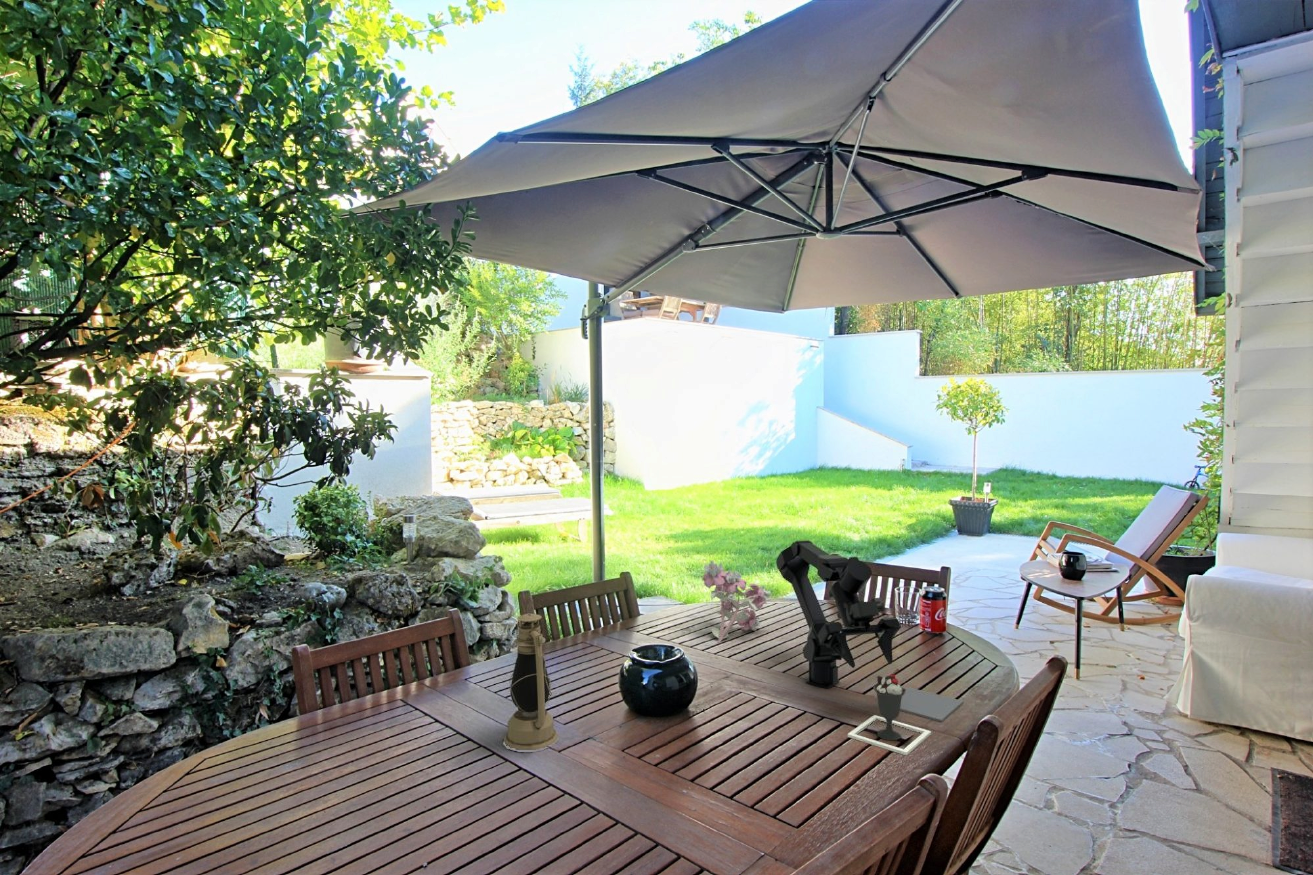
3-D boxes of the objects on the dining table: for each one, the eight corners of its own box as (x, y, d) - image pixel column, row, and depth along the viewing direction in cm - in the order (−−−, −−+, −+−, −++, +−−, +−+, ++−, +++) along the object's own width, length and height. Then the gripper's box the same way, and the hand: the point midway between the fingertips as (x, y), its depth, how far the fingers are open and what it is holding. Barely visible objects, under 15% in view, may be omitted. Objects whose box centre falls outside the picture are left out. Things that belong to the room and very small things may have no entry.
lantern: (570, 746, 153) (568, 605, 152) (515, 760, 147) (513, 613, 146) (544, 721, 166) (542, 590, 165) (493, 733, 160) (491, 597, 159)
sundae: (907, 743, 154) (908, 673, 153) (874, 740, 155) (874, 671, 154) (903, 730, 160) (904, 662, 159) (871, 727, 161) (872, 660, 161)
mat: (882, 705, 173) (882, 703, 173) (906, 688, 184) (906, 686, 184) (941, 722, 164) (941, 719, 164) (963, 703, 174) (963, 701, 174)
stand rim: (847, 736, 157) (847, 734, 157) (874, 717, 167) (874, 714, 167) (906, 755, 148) (906, 752, 148) (931, 733, 158) (931, 731, 158)
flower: (776, 644, 214) (778, 561, 224) (699, 637, 214) (705, 554, 224) (765, 653, 232) (767, 576, 242) (694, 646, 233) (699, 569, 243)
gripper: (823, 588, 166) (846, 651, 156) (897, 583, 170) (924, 644, 160) (808, 613, 174) (829, 675, 164) (879, 607, 178) (904, 667, 168)
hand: (872, 665), depth 164 cm, fingers open, 9 cm apart
